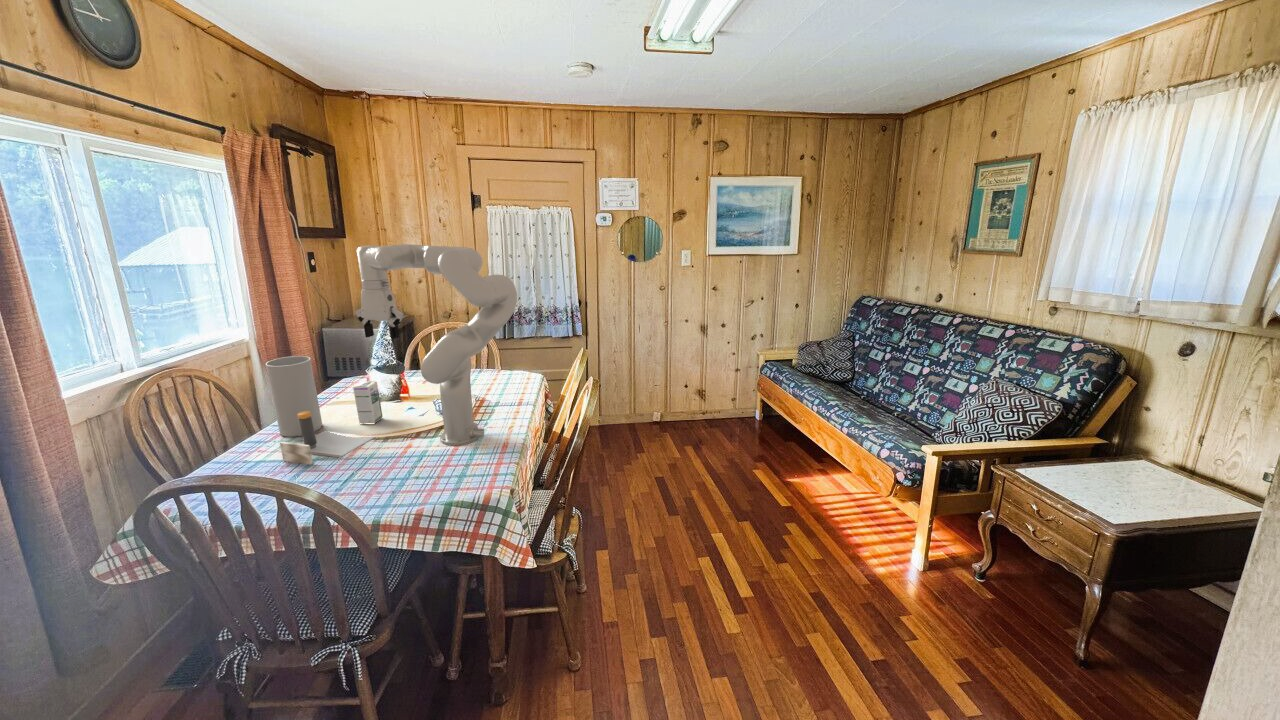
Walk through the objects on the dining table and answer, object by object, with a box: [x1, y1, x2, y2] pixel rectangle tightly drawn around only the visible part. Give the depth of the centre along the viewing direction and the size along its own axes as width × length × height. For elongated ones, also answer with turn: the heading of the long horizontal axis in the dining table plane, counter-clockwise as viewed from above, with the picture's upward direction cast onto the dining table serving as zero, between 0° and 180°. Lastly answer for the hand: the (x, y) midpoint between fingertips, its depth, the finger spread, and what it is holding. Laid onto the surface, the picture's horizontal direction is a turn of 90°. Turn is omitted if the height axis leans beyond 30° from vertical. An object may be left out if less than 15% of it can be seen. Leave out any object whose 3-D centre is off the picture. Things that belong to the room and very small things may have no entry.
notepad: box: [299, 430, 375, 459], centre depth 167 cm, size 20×16×1 cm
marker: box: [297, 411, 317, 449], centre depth 162 cm, size 4×4×12 cm
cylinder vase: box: [265, 355, 323, 438], centre depth 174 cm, size 12×12×25 cm
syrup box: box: [352, 380, 384, 424], centre depth 183 cm, size 6×6×14 cm
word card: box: [279, 441, 314, 465], centre depth 154 cm, size 10×1×6 cm, turn 77°
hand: (382, 337), depth 168 cm, fingers open, 9 cm apart
